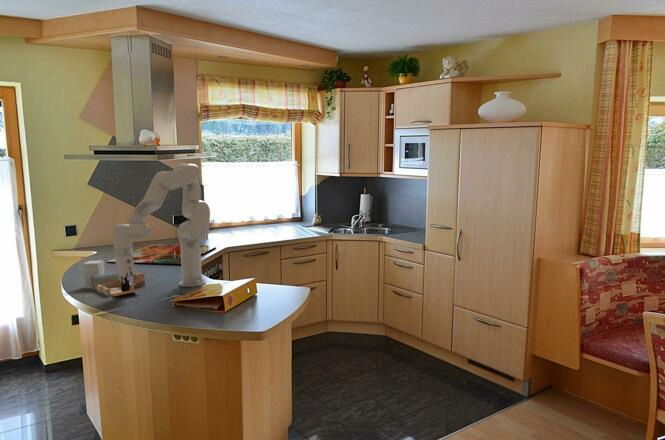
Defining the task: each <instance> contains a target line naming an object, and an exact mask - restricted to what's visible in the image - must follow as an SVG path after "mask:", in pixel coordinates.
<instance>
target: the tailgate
mask: <svg viewBox="0 0 665 440" xmlns="http://www.w3.org/2000/svg"><path fill="white" fill-rule="evenodd" d="M136 292H140V288H136V289H135V288H134V290H131V291H126V292H121V293H116V294H112V295H111V296H110V297H118V296H122V295H127V294H131V293H136Z"/></svg>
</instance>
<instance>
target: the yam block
mask: <svg viewBox="0 0 665 440" xmlns="http://www.w3.org/2000/svg"><path fill="white" fill-rule="evenodd" d="M132 282H133V283H132V284H133V285H134V287H136V288H140V287H144V286H146V279H145V273H143V272H136V273H135V275H134V276H132Z"/></svg>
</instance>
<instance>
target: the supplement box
mask: <svg viewBox="0 0 665 440" xmlns="http://www.w3.org/2000/svg"><path fill="white" fill-rule="evenodd" d="M82 266H83V267H82V268H83V279H84V288H85V289H92V288H91V276H94V275H100V274H106V273H105V264H104V259H103V260H102V259H101V260H89V261H86V262H84V263H83V264H82Z"/></svg>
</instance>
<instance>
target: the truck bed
mask: <svg viewBox="0 0 665 440" xmlns="http://www.w3.org/2000/svg"><path fill="white" fill-rule="evenodd" d="M90 289H91V290H94V291H95V292H98V293H101V294H103V295H105V296H107V297H112V296H111V295H112V294H116V293H121V292H122V291H121V282H120V277H119V275H117V274H116V271H113V272H108V273H107V272H106V273H105V274H100V275H94V276H91V288H90ZM131 290H135V286H134V284H133V283H131V282H130V291H131Z"/></svg>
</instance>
